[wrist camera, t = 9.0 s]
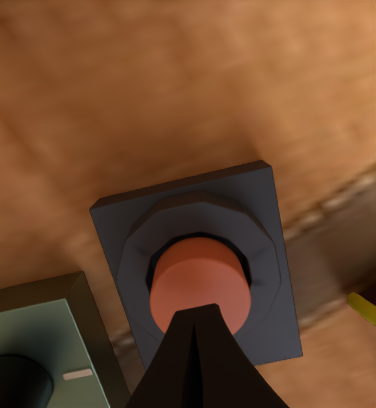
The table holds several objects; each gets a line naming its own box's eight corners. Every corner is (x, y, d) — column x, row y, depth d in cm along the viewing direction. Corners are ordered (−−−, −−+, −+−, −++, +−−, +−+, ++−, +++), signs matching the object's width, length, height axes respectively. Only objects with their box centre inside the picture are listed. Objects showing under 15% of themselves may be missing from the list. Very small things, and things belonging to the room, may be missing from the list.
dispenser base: (292, 333, 17) (317, 386, 14) (153, 361, 18) (146, 419, 15) (262, 159, 15) (285, 174, 11) (98, 198, 15) (74, 223, 12)
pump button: (249, 304, 13) (259, 336, 11) (166, 321, 14) (164, 355, 12) (232, 226, 12) (240, 247, 10) (144, 247, 12) (136, 270, 11)
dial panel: (137, 413, 19) (129, 460, 17) (14, 436, 20) (-12, 485, 17) (83, 270, 16) (64, 300, 14) (-60, 302, 17) (-103, 336, 14)
